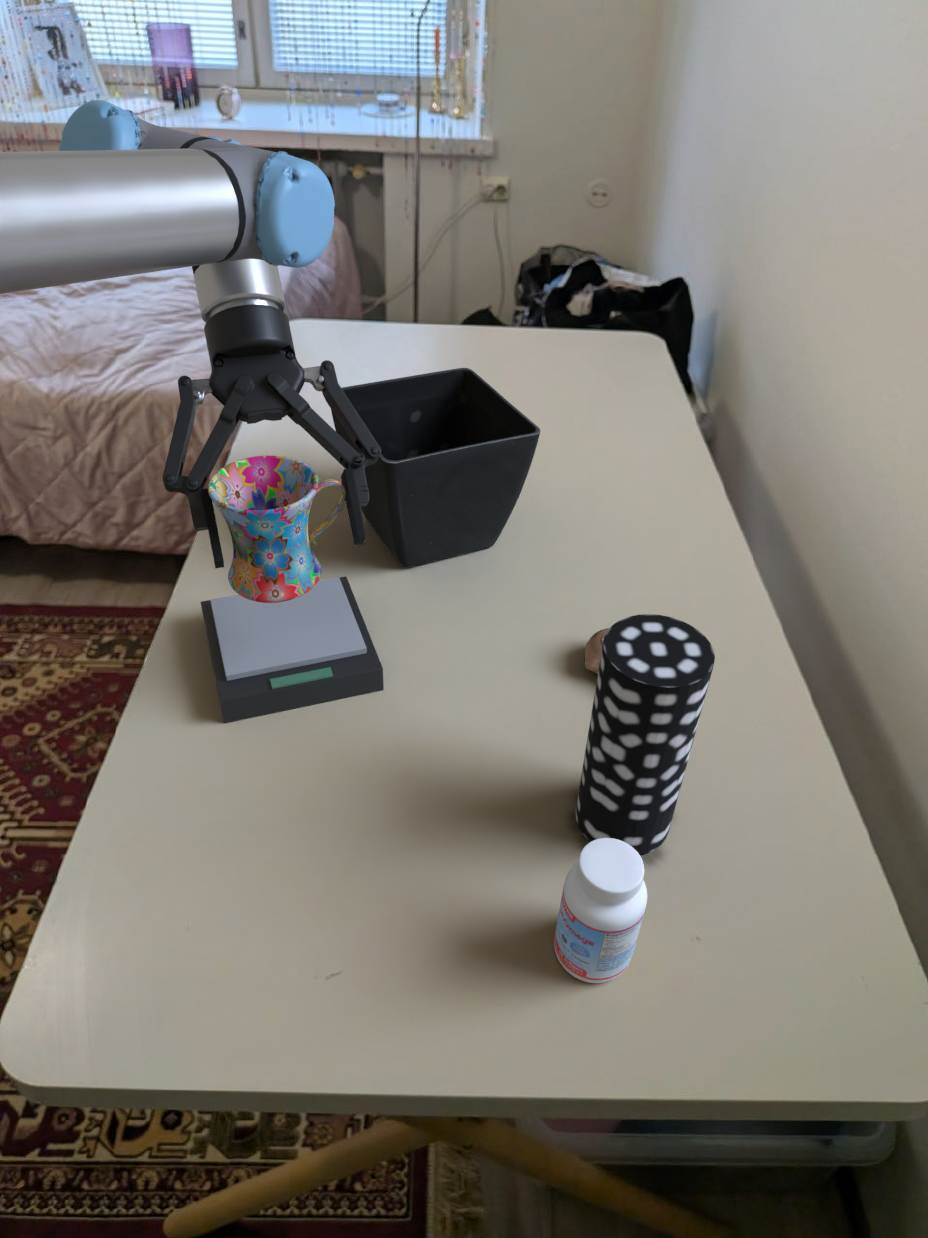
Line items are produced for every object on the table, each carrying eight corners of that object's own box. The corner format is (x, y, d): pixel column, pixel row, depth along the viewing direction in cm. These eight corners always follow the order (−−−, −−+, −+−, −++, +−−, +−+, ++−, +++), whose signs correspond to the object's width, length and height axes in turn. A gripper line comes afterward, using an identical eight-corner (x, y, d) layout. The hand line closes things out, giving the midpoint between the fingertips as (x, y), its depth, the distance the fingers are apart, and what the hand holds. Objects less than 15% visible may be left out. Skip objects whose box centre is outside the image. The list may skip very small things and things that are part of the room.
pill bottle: (540, 930, 73) (553, 842, 66) (608, 906, 75) (627, 818, 68) (575, 998, 69) (593, 912, 62) (646, 971, 71) (671, 884, 64)
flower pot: (464, 479, 126) (468, 362, 115) (533, 553, 113) (545, 429, 102) (333, 510, 119) (324, 389, 109) (390, 592, 106) (386, 464, 96)
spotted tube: (677, 857, 79) (726, 688, 66) (581, 856, 79) (611, 687, 66) (660, 782, 86) (701, 614, 73) (570, 781, 85) (596, 613, 73)
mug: (241, 623, 81) (224, 522, 74) (213, 566, 87) (195, 467, 81) (368, 588, 85) (364, 489, 79) (333, 536, 92) (325, 440, 85)
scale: (224, 723, 90) (218, 695, 87) (204, 622, 101) (199, 595, 99) (383, 690, 94) (382, 662, 92) (347, 596, 106) (345, 570, 103)
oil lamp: (572, 698, 95) (649, 717, 93) (575, 673, 92) (655, 692, 90) (590, 636, 101) (663, 653, 99) (593, 611, 98) (669, 627, 96)
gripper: (369, 323, 90) (414, 540, 88) (110, 349, 84) (153, 583, 82) (382, 287, 83) (430, 523, 81) (98, 313, 76) (146, 569, 75)
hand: (291, 553), depth 82 cm, fingers closed on mug, 12 cm apart
